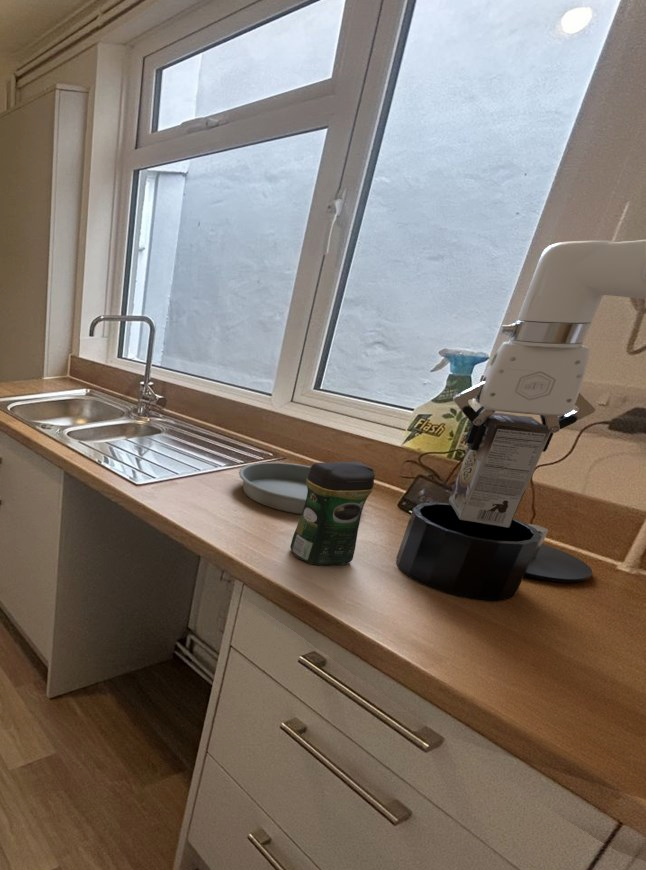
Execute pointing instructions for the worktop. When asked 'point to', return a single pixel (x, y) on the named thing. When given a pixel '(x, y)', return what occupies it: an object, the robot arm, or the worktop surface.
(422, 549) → the bin
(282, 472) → the cake pan
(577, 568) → the bin lid
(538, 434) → the coffee box
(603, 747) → the worktop surface
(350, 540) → the coffee jar
